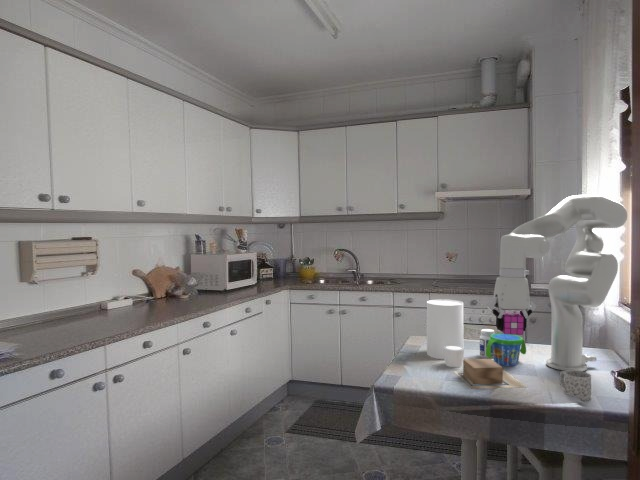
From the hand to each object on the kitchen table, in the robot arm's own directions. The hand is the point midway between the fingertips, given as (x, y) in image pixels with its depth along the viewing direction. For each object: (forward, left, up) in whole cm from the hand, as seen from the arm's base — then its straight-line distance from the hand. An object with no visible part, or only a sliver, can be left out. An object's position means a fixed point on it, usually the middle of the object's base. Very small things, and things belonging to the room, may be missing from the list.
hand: (511, 329), depth 145 cm
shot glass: (+14, -14, -17) cm, 26 cm away
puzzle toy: (0, 0, -1) cm, 1 cm away
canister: (+12, -30, -17) cm, 36 cm away
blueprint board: (+8, +1, -16) cm, 18 cm away
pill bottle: (-3, -26, -17) cm, 31 cm away
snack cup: (-5, -15, -16) cm, 23 cm away
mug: (-12, +13, -17) cm, 24 cm away
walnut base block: (+10, +1, -15) cm, 18 cm away
